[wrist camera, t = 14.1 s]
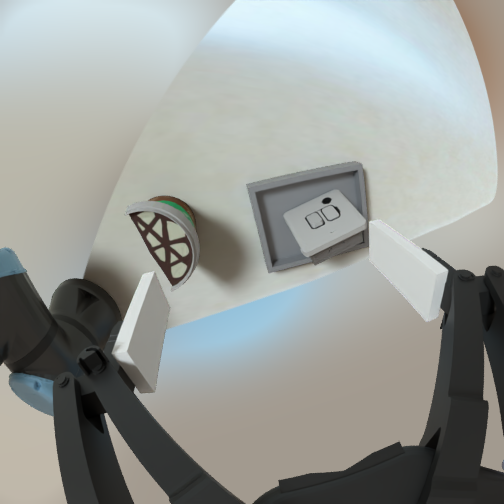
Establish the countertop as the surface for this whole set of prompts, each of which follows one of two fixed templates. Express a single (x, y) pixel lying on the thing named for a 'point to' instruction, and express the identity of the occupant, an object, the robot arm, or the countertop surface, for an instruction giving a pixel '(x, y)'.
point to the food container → (168, 235)
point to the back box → (293, 195)
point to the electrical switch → (326, 226)
